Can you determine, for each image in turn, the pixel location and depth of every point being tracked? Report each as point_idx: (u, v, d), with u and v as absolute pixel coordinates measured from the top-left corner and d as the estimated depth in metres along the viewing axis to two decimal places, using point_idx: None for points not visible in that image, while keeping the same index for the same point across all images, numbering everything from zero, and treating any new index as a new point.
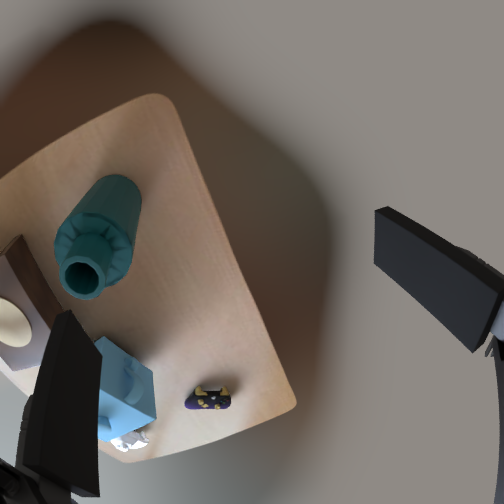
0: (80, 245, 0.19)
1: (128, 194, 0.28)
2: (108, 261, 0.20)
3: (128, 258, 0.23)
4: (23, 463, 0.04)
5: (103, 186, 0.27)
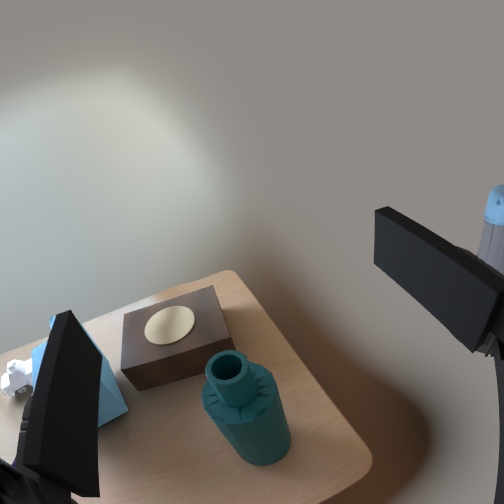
0: (252, 373, 0.23)
1: (277, 443, 0.26)
2: (234, 397, 0.22)
3: (229, 421, 0.22)
4: (23, 463, 0.04)
5: (285, 421, 0.28)
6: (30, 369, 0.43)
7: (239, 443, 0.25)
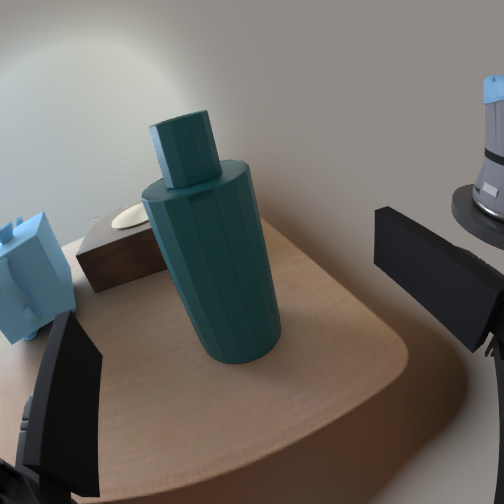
0: None
1: (256, 299, 0.20)
2: (181, 153, 0.15)
3: (171, 197, 0.15)
4: (23, 463, 0.04)
5: (270, 270, 0.22)
6: None
7: (192, 278, 0.18)
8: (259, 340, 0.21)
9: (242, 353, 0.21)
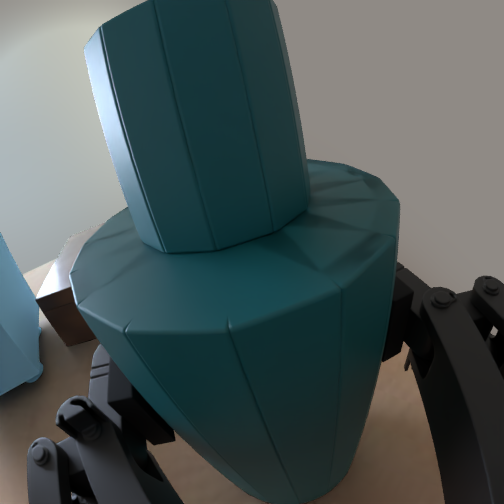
0: None
1: (349, 452, 0.08)
2: (191, 121, 0.04)
3: (151, 315, 0.04)
4: (109, 401, 0.06)
5: None
6: None
7: (228, 462, 0.06)
8: (332, 483, 0.10)
9: (302, 500, 0.10)
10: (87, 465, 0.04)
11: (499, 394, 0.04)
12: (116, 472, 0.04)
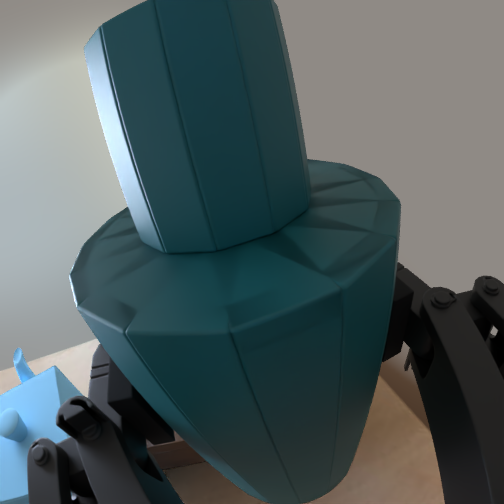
0: None
1: (349, 452, 0.08)
2: (192, 121, 0.04)
3: (151, 315, 0.04)
4: (109, 401, 0.06)
5: None
6: None
7: (229, 463, 0.06)
8: (332, 484, 0.10)
9: (302, 500, 0.10)
10: (87, 465, 0.04)
11: (499, 394, 0.04)
12: (116, 472, 0.04)
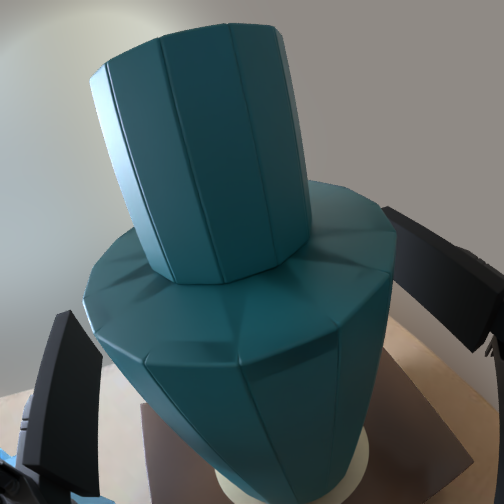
0: None
1: (346, 457, 0.08)
2: (201, 167, 0.04)
3: (167, 348, 0.04)
4: (23, 463, 0.04)
5: None
6: None
7: (233, 468, 0.06)
8: (331, 486, 0.10)
9: (302, 502, 0.10)
10: None
11: None
12: None
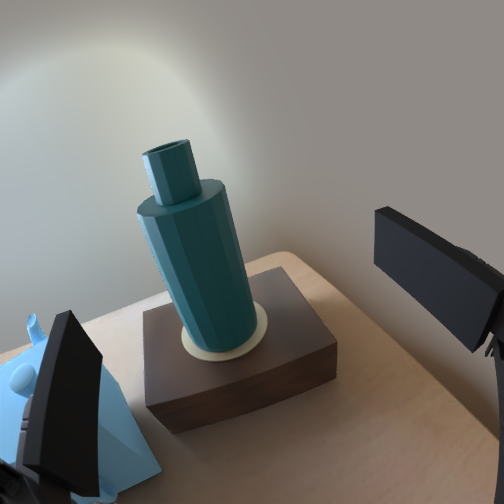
0: None
1: (232, 296, 0.24)
2: (168, 178, 0.19)
3: (160, 214, 0.19)
4: (23, 463, 0.04)
5: (245, 272, 0.26)
6: None
7: (178, 278, 0.22)
8: (236, 332, 0.25)
9: (222, 343, 0.25)
10: None
11: None
12: None
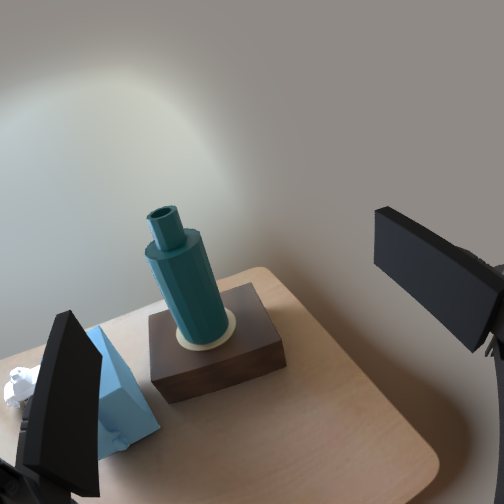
0: (180, 221, 0.33)
1: (207, 307, 0.36)
2: (164, 235, 0.31)
3: (159, 258, 0.31)
4: (23, 463, 0.04)
5: (217, 291, 0.38)
6: None
7: (172, 296, 0.34)
8: (212, 331, 0.37)
9: (202, 338, 0.37)
10: None
11: None
12: None
